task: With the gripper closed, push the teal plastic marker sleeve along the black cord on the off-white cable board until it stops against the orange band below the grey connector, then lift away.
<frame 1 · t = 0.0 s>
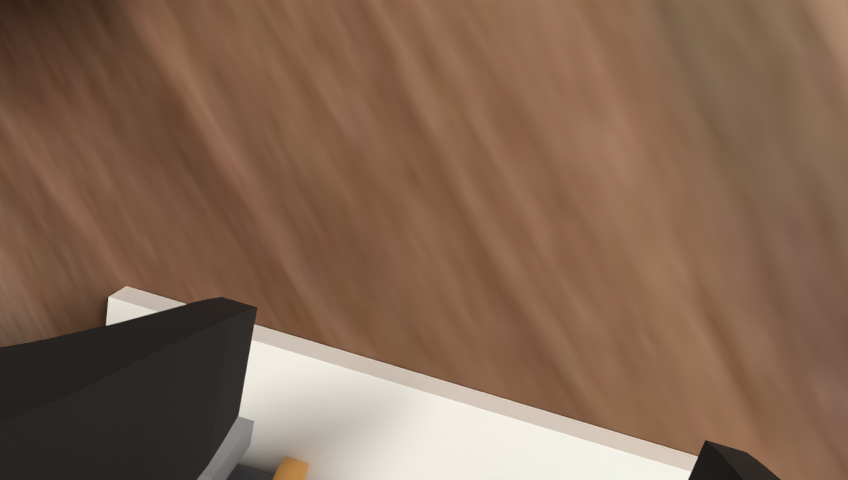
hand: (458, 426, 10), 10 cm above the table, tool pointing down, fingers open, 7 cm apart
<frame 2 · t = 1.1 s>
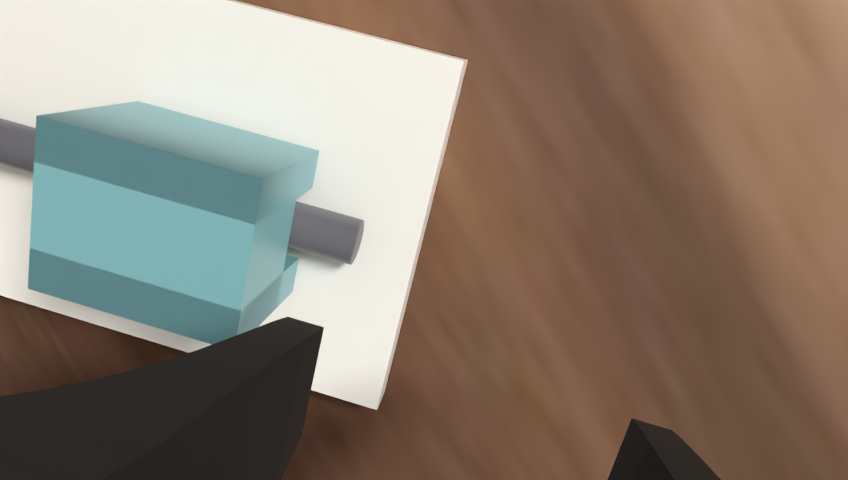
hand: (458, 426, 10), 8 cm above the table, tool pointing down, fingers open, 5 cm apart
cable board: (15, 125, 19), on the table
marker sleeve: (182, 215, 16), point 3 cm above the table, slide at 0.0 cm
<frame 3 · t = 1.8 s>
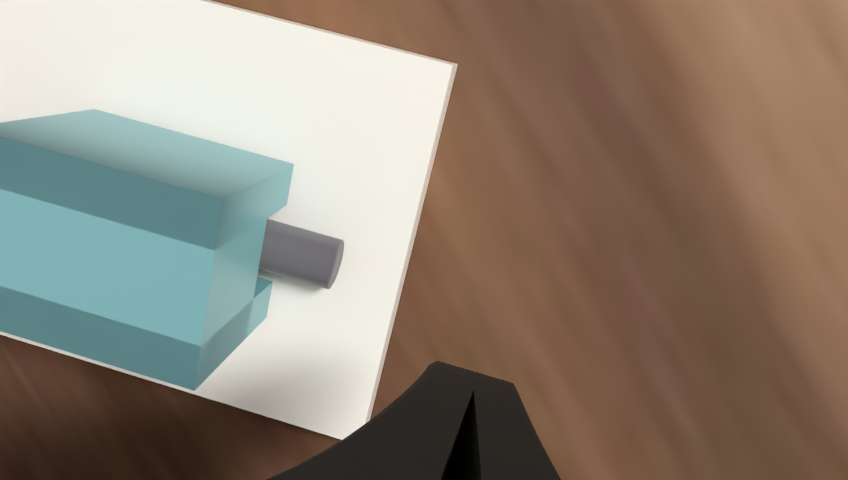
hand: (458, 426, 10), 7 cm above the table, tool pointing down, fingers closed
marker sleeve: (139, 236, 14), point 3 cm above the table, slide at 0.0 cm
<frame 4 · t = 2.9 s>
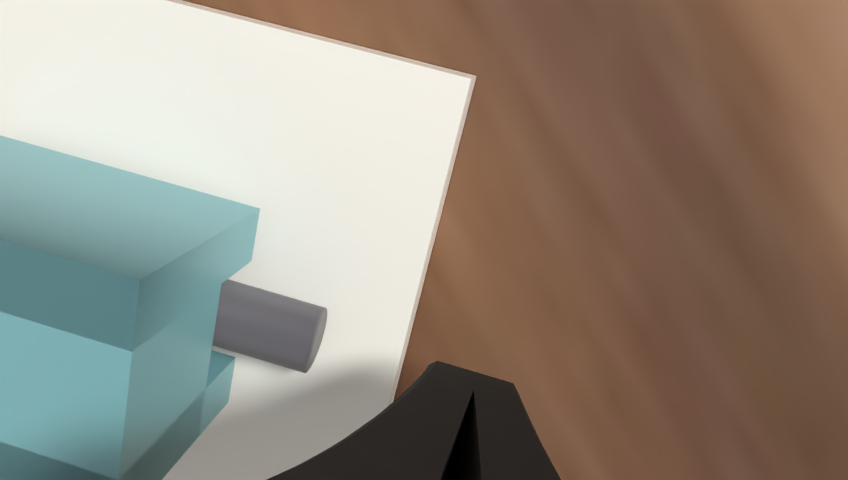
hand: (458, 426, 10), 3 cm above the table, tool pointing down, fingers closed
marker sleeve: (49, 311, 11), point 3 cm above the table, slide at 0.0 cm
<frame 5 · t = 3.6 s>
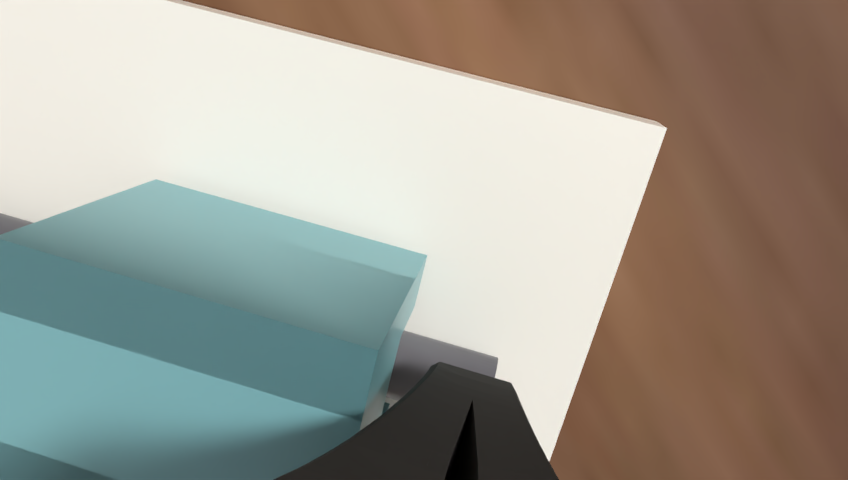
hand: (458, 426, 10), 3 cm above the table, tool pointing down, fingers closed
marker sleeve: (226, 364, 10), point 3 cm above the table, slide at 0.1 cm, touching gripper
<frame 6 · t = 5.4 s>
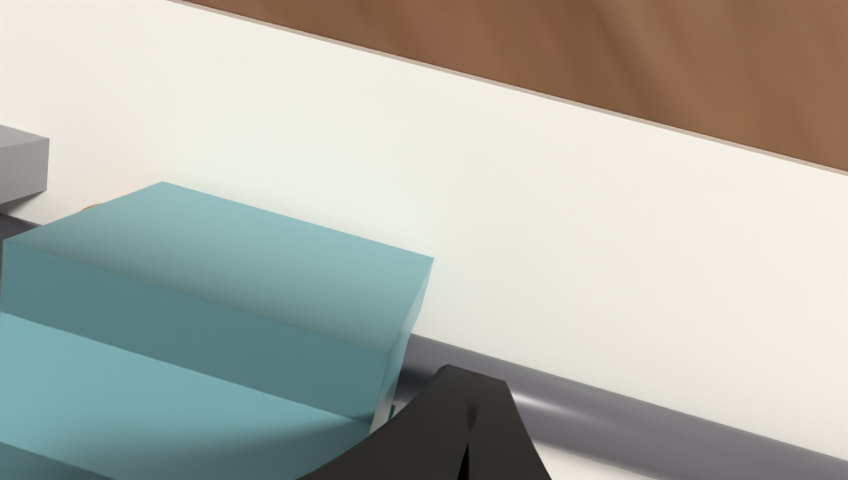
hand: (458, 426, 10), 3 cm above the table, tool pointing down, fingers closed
cable board: (352, 309, 13), on the table
marker sleeve: (233, 367, 10), point 3 cm above the table, slide at 8.1 cm, touching gripper
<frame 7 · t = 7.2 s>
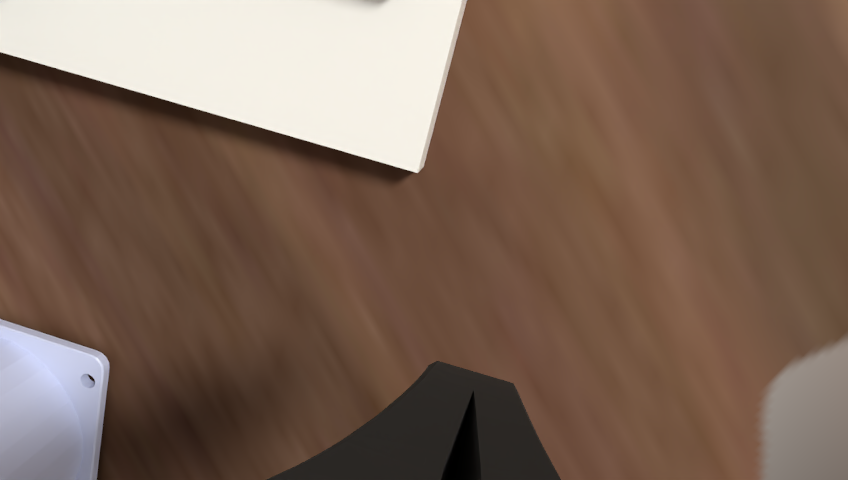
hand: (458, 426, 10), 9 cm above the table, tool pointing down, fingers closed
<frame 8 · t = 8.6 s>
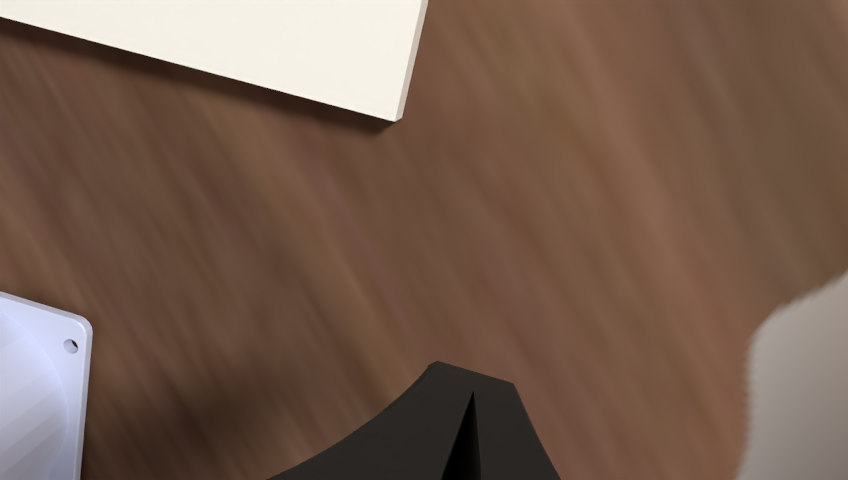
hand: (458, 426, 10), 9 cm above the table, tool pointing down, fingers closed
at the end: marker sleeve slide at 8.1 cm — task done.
